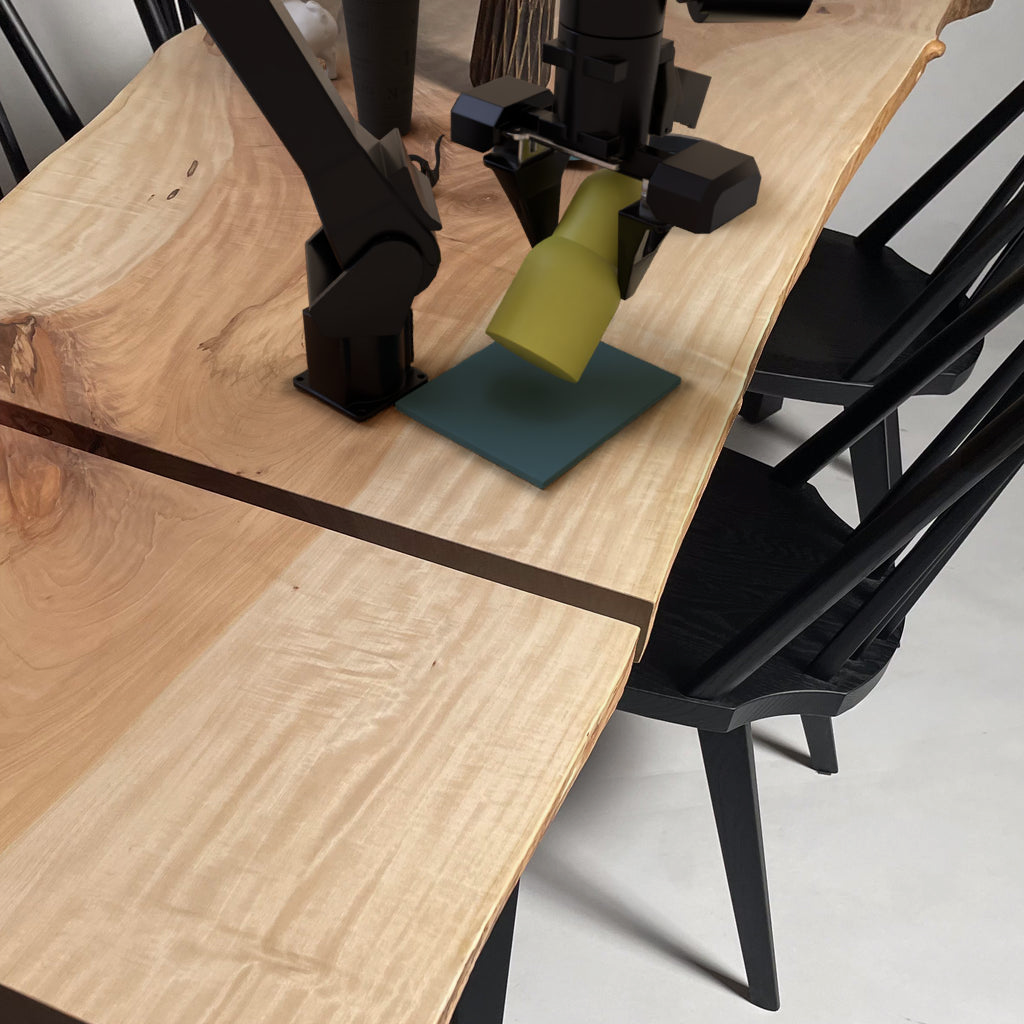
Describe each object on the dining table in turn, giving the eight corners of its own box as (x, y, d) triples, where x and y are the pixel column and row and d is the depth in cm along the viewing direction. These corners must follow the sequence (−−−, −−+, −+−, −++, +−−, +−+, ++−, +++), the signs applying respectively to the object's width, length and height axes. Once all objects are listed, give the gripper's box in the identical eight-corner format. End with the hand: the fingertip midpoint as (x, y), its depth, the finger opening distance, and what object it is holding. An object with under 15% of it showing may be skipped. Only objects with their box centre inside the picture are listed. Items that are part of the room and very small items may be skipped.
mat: (542, 490, 65) (543, 482, 64) (394, 409, 70) (394, 402, 70) (680, 384, 74) (682, 377, 73) (540, 320, 79) (540, 313, 79)
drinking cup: (332, 138, 102) (316, -103, 89) (360, 109, 108) (349, -121, 95) (411, 149, 101) (406, -93, 88) (435, 119, 107) (434, -113, 94)
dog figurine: (266, 50, 120) (255, -57, 113) (349, 79, 114) (343, -32, 107) (227, 61, 117) (214, -48, 110) (311, 92, 111) (302, -22, 104)
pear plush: (550, 359, 64) (669, 142, 64) (466, 319, 67) (579, 113, 67) (592, 393, 70) (701, 195, 70) (513, 355, 73) (618, 166, 73)
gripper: (834, 31, 60) (777, 285, 70) (564, -40, 69) (547, 195, 79) (730, 81, 53) (684, 354, 64) (444, -5, 62) (443, 248, 72)
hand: (585, 280), depth 70 cm, fingers closed on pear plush, 6 cm apart
